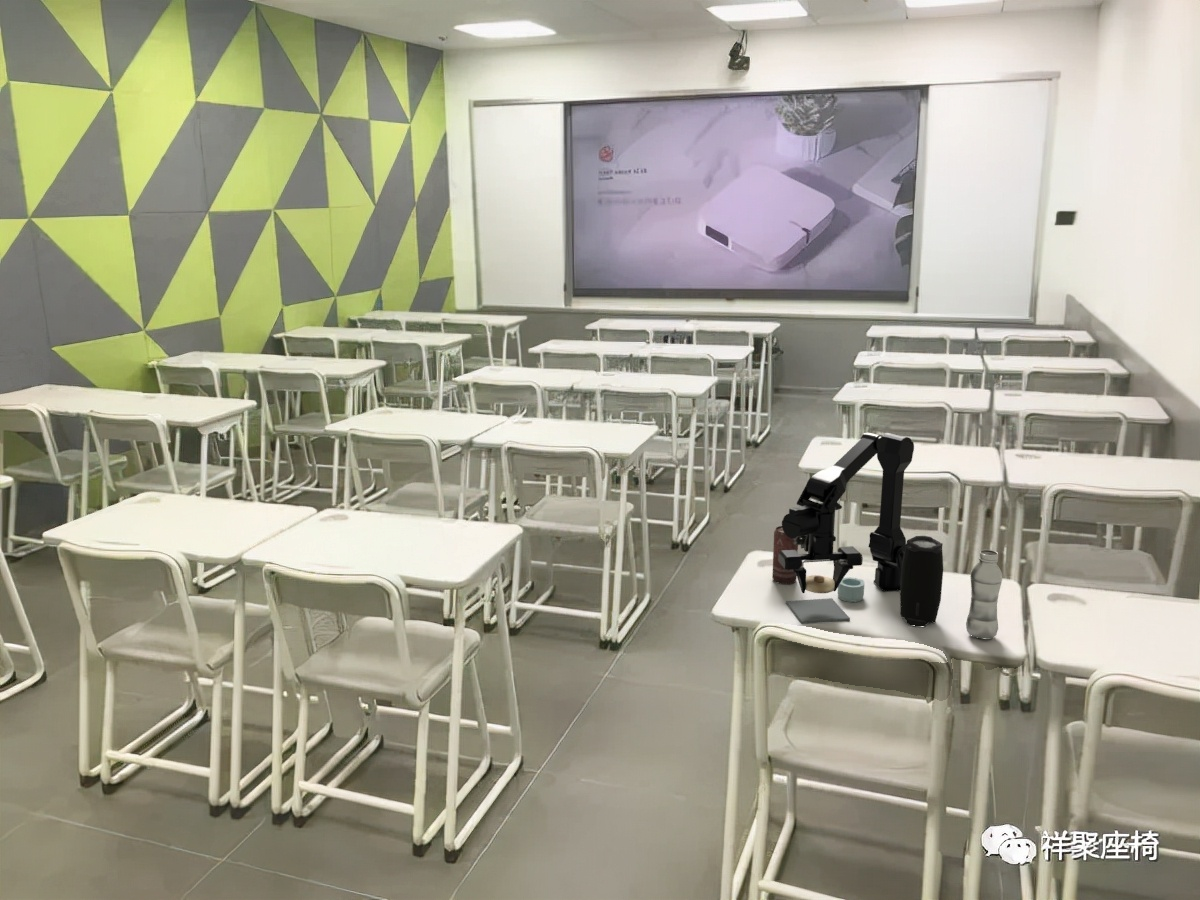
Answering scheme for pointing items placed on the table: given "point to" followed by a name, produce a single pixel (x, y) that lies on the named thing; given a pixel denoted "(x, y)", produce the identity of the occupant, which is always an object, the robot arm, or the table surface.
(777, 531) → the can
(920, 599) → the portable speaker
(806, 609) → the mat
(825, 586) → the lid
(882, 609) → the table surface
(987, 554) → the plastic bottle
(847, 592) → the bowl
